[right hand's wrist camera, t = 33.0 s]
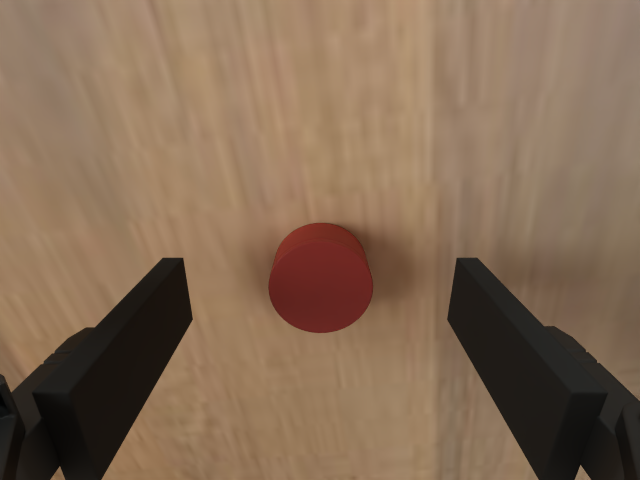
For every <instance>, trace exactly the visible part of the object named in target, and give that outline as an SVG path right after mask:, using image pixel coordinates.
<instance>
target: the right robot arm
mask: <svg viewBox="0 0 640 480" xmlns="http://www.w3.org/2000/svg"><path fill="white" fill-rule="evenodd" d="M192 320H193V318H192V311H191V305H190V299H189V292H188V286H187V279H186V273H185V267H184V260H183V258H162V259H161V260H160V261H159V262H158V263H157V264H156V265H155V266H154V267H153V268H152V270H151V271H150V272H149V273H148V274H147V275H146V276H145V277H144V278H143V279H142V280H141V281H140V282H139V283H138V284H137V285H136V286H135V287H134V288H133V289H132V290H131V291H130V292H129V293H128V294H127V295H126V296H125V297H124V298H123V299H122V300H121V301H120V302H119V303H118V304H117V305H116V306H115V307H114V308H113V309H112V311H111V312H110V313H109V314H108V315H107V316H106V317H105V318H104V319H103V320H102V321H101V322H100V323H99V324H98V325H97V326H96V327H95V328H85V329H83V330H81V331H80V332H78V333H76V334H74V335H73V336H71V337H69V338H68V339H67V340H66V341H65V342H64V343H63V344H62V345H61V346H59V347H58V348H57V349H56V350H55V353H54V354H51V355H50V356H49V357H48V358H47V359H46V360H45V361H44V364H41V365H40V366H39V367H38V368H37V369H35V370H34V371H33V372H32V373H31V374H30V375H29V376H28V377H27V378H26V379H25V380H24V381H23V382H22V383H21V384H20V385H19V386H18V387H17V388H16V389H15V390H14V391H13V392H12V393H11V392H10V389H9V387H8V384H7V382H6V380H5V377H4V376H3V375H1V374H0V480H50V479H51V478H52V476H53V475H54V473H55V472H56V471H57V469H58V468H59V466H60V467H61V470H62V472H63V475H64V477H65V480H101V479H102V477H103V476H104V474H105V472H106V470H107V469H108V467H109V465H110V463H111V462H112V460H113V458H114V456H115V455H116V453H117V451H118V449H119V448H120V446H121V444H122V442H123V441H124V439H125V437H126V435H127V434H128V432H129V430H130V428H131V427H132V425H133V423H134V421H135V420H136V418H137V416H138V414H139V413H140V411H141V409H142V407H143V406H144V404H145V402H146V400H147V399H148V397H149V395H150V393H151V392H152V390H153V388H154V386H155V385H156V383H157V381H158V379H159V378H160V376H161V374H162V372H163V371H164V369H165V367H166V365H167V364H168V362H169V360H170V358H171V357H172V355H173V353H174V351H175V350H176V348H177V346H178V344H179V343H180V341H181V339H182V337H183V336H184V334H185V332H186V330H187V329H188V327H189V325H190V323H191V322H192ZM447 320H448V322H449V323H450V325H451V327H452V329H453V330H454V332H455V334H456V336H457V337H458V339H459V341H460V343H461V344H462V346H463V348H464V350H465V351H466V353H467V355H468V357H469V358H470V360H471V362H472V364H473V365H474V367H475V369H476V371H477V372H478V374H479V376H480V378H481V379H482V381H483V383H484V385H485V386H486V388H487V390H488V392H489V393H490V395H491V397H492V399H493V400H494V402H495V404H496V406H497V407H498V409H499V411H500V413H501V414H502V416H503V418H504V420H505V421H506V423H507V425H508V427H509V428H510V430H511V432H512V434H513V435H514V437H515V439H516V441H517V442H518V444H519V446H520V448H521V449H522V451H523V453H524V455H525V456H526V458H527V460H528V462H529V463H530V465H531V467H532V469H533V470H534V472H535V474H536V476H537V477H538V479H539V480H575V477H576V475H577V472H578V470H579V467H580V464H581V466H582V467H583V469H584V470H585V471H586V473H587V474H588V476H589V477H590V478H591V480H640V401H639V400H638V399H637V398H636V397H635V396H634V395H633V394H632V393H631V392H629V391H628V390H627V389H626V388H625V387H624V386H623V385H622V384H621V383H620V382H619V381H618V380H617V379H616V378H615V377H614V376H613V375H612V374H611V373H610V372H608V371H607V370H606V369H605V368H604V367H603V366H602V365H601V364H600V363H597V360H596V359H595V358H594V357H593V356H592V355H591V354H590V353H589V352H586V350H585V349H584V348H583V347H582V346H581V345H580V344H579V343H578V342H577V341H576V340H575V339H574V338H573V337H571V336H570V335H568V334H566V333H565V332H563V331H561V330H559V329H558V328H556V327H554V326H543V325H542V324H541V323H540V322H539V321H538V320H537V319H536V318H535V317H534V316H533V315H532V314H531V313H530V312H529V311H528V309H527V308H526V307H525V306H524V305H523V304H522V303H521V302H520V301H519V300H518V299H517V298H516V297H515V296H514V295H513V294H512V293H511V292H510V291H509V290H508V289H507V288H506V287H505V286H504V285H503V284H502V283H501V282H500V281H499V280H498V279H497V278H496V277H495V276H494V275H493V274H492V273H491V272H490V271H489V270H488V268H487V267H486V266H485V265H484V264H483V263H482V262H481V261H480V260H479V259H478V258H457V260H456V267H455V273H454V279H453V286H452V292H451V299H450V305H449V311H448V318H447Z"/></svg>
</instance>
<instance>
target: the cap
mask: <svg viewBox="0 0 640 480" xmlns="http://www.w3.org/2000/svg"><path fill="white" fill-rule="evenodd" d="M372 292H373V282H372V277H371V273H370V270H369V266H368V263H367V259H366V256H365V252H364V250H363V247H362V246H361V244H360V242H359V241H358V240H357V239H356V238H355V237H354V236H353V235H352V234H351V233H350V232H348V231H347V230H345V229H343V228H341V227H339V226H336V225H332V224H326V223H315V224H309V225H305V226H303V227H300V228H298V229H296V230H295V231H293V232H292V233H290V234H289V235H288V236H287V237H286V238H285V239H284V240H283V242H282V243H281V245H280V246H279V248H278V251H277V253H276V257H275V260H274V264H273V267H272V271H271V275H270V279H269V295H270V299H271V302H272V304H273V306H274V308H275V310H276V311H277V312H278V314H279V315H280V316H281V317H282V318H283V319H284V320H285V321H286V322H288V323H289V324H291V325H292V326H294V327H296V328H299V329H301V330H304V331H308V332H314V333H327V332H333V331H337V330H340V329H343V328H345V327H347V326H349V325H351V324H352V323H354V322H355V321H356V320H357V319H359V318H360V317H361V315H362V314H363V313H364V312H365V310H366V309H367V307H368V305H369V303H370V300H371V297H372Z"/></svg>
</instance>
